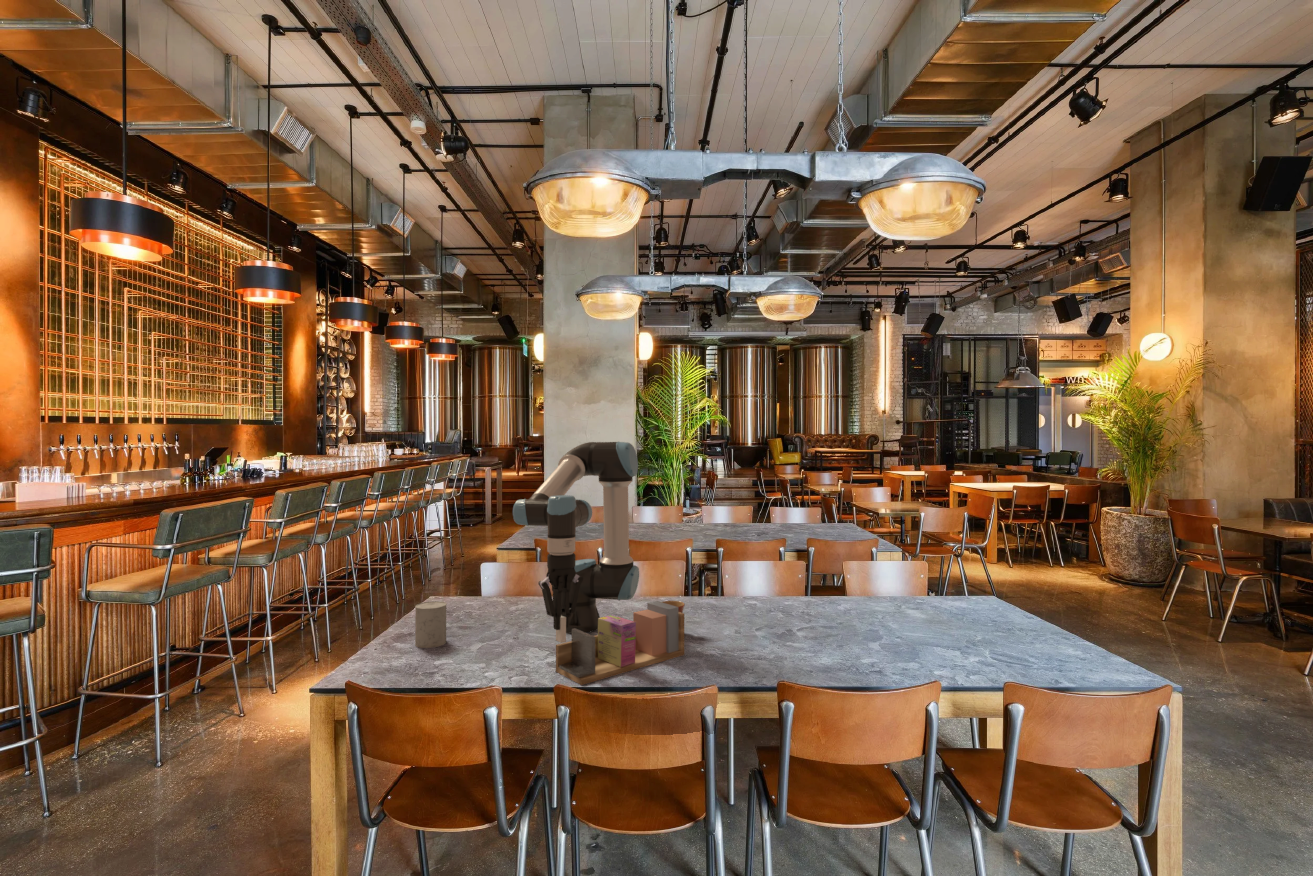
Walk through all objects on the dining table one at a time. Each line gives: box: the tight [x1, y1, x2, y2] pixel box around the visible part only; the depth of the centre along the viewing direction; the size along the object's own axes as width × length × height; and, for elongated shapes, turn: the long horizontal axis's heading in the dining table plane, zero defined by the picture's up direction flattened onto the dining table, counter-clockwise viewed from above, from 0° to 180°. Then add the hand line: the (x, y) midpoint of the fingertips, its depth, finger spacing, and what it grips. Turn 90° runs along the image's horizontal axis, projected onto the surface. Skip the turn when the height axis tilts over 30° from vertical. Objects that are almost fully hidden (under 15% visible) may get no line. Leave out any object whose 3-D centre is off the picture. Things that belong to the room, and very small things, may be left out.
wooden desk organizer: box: [555, 612, 685, 686], centre depth 182 cm, size 13×37×12 cm, turn 130°
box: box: [597, 614, 636, 667], centre depth 179 cm, size 10×6×12 cm, turn 45°
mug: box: [662, 600, 686, 613], centre depth 208 cm, size 12×9×10 cm
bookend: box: [559, 628, 595, 678], centre depth 171 cm, size 10×5×10 cm, turn 40°
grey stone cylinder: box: [414, 600, 448, 649], centre depth 200 cm, size 10×10×12 cm
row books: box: [632, 600, 679, 656], centre depth 189 cm, size 10×10×13 cm
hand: (560, 641), depth 168 cm, fingers closed
